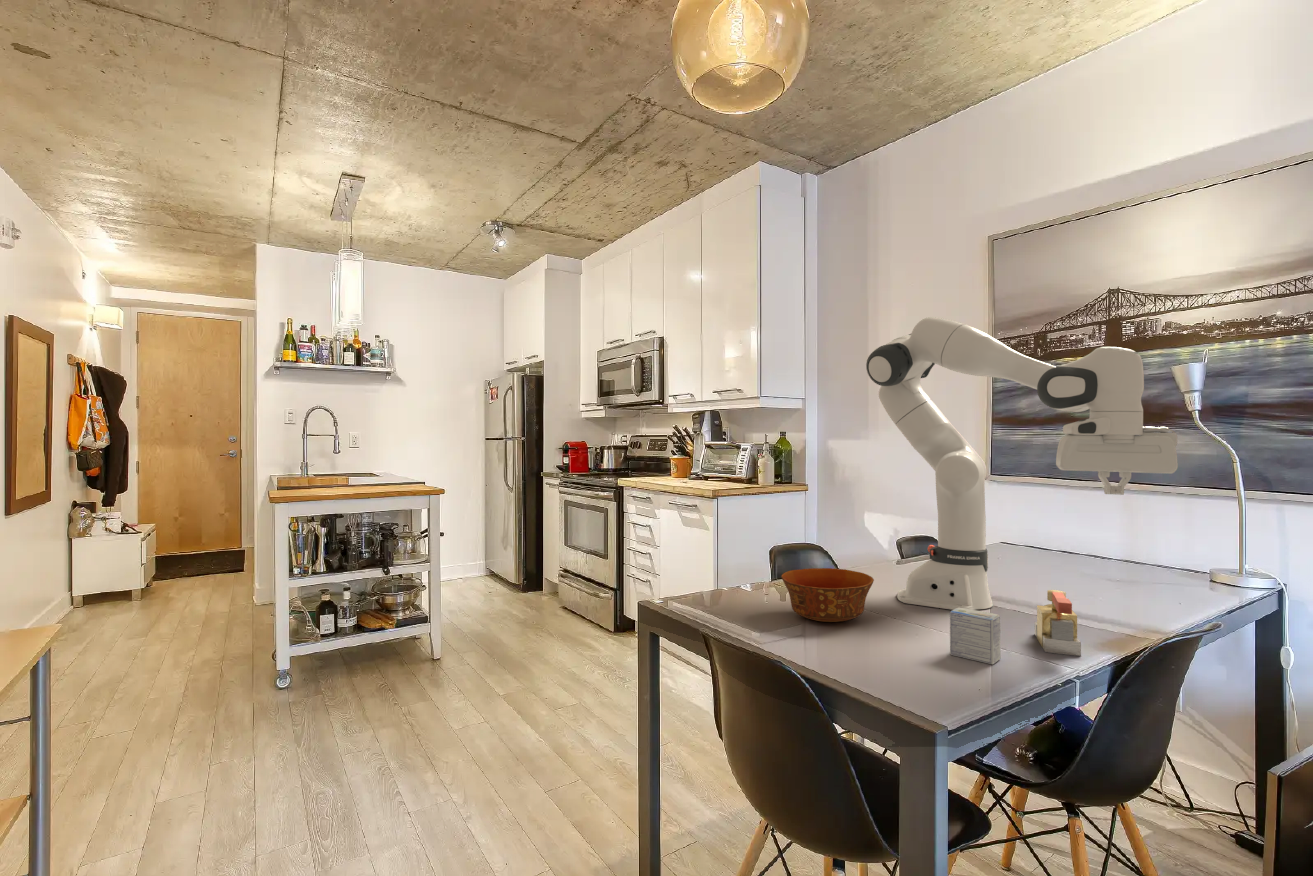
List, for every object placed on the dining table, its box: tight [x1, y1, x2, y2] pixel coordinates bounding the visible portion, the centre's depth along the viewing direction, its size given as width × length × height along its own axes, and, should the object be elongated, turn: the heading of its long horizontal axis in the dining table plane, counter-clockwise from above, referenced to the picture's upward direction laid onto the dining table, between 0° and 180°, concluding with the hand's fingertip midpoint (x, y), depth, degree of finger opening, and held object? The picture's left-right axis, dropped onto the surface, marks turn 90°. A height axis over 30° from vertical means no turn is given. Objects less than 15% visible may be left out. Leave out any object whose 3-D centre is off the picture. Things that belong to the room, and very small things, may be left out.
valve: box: [1034, 601, 1082, 657], centre depth 129 cm, size 12×6×9 cm, turn 157°
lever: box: [1046, 589, 1073, 614], centre depth 125 cm, size 12×3×2 cm, turn 155°
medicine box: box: [949, 608, 1002, 665], centre depth 122 cm, size 8×4×9 cm, turn 44°
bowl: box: [780, 567, 875, 623], centre depth 148 cm, size 21×21×10 cm
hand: (1114, 494), depth 129 cm, fingers closed
